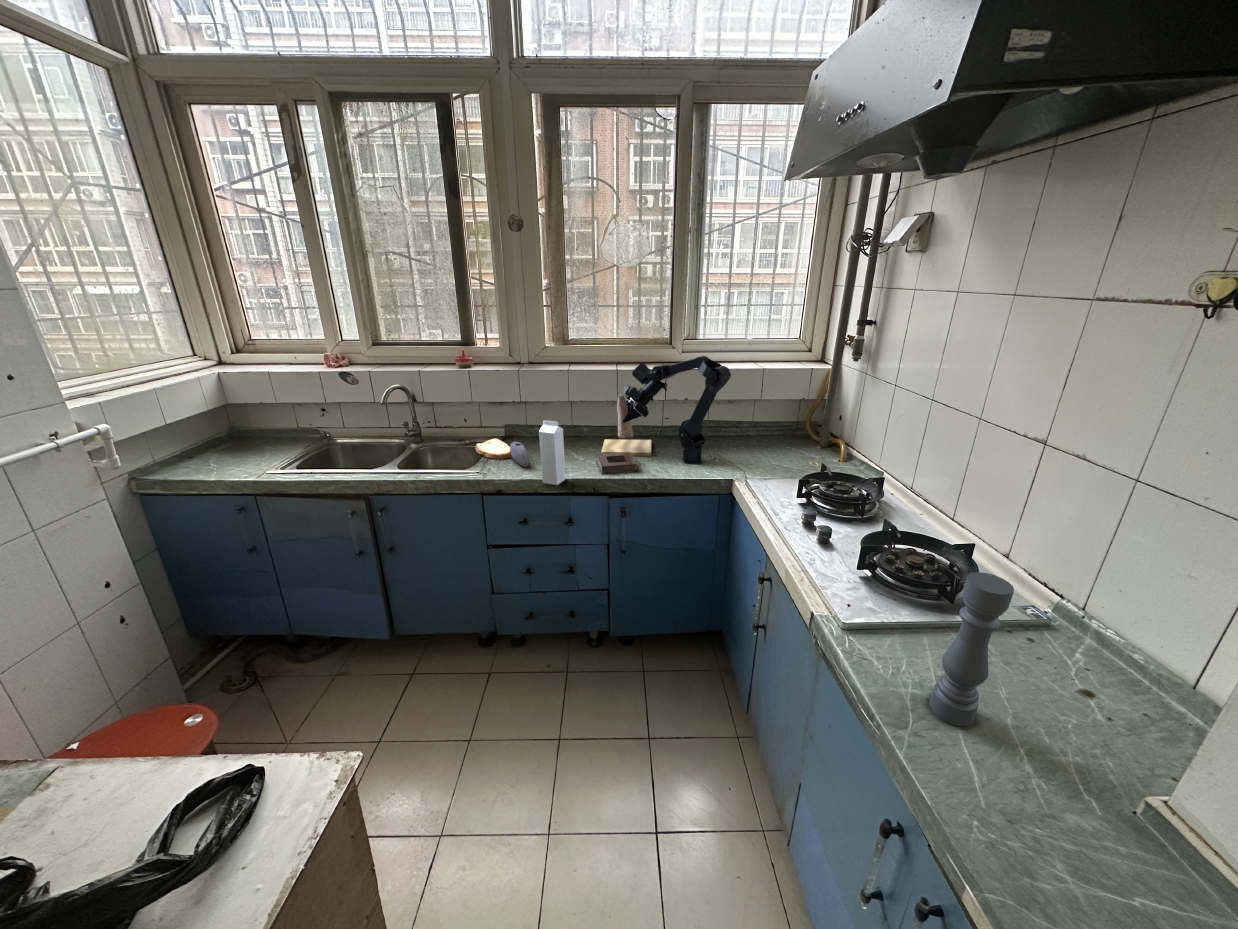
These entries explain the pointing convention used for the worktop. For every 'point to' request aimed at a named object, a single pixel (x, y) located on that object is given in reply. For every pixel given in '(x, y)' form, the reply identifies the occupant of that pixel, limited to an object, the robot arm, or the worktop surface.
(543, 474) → the milk
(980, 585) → the candle holder
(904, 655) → the worktop surface
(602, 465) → the holder
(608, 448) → the board
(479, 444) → the slice of bread
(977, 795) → the worktop surface
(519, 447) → the perforated stone tool
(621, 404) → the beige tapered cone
